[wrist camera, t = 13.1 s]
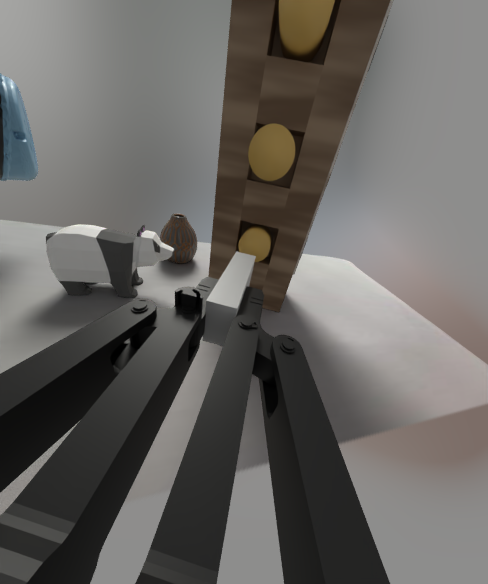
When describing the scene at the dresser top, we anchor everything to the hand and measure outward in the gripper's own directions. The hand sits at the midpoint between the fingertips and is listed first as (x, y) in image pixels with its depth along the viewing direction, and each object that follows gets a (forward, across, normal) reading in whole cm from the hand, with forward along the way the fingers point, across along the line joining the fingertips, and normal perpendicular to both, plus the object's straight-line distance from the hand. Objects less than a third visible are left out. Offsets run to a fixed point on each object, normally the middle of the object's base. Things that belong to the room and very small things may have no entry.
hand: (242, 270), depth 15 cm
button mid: (+9, 0, +6) cm, 11 cm away
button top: (+12, 0, +15) cm, 20 cm away
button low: (+12, 0, -4) cm, 13 cm away
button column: (+16, 0, -12) cm, 20 cm away
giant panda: (+8, -18, -12) cm, 23 cm away
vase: (+21, -16, -12) cm, 29 cm away
